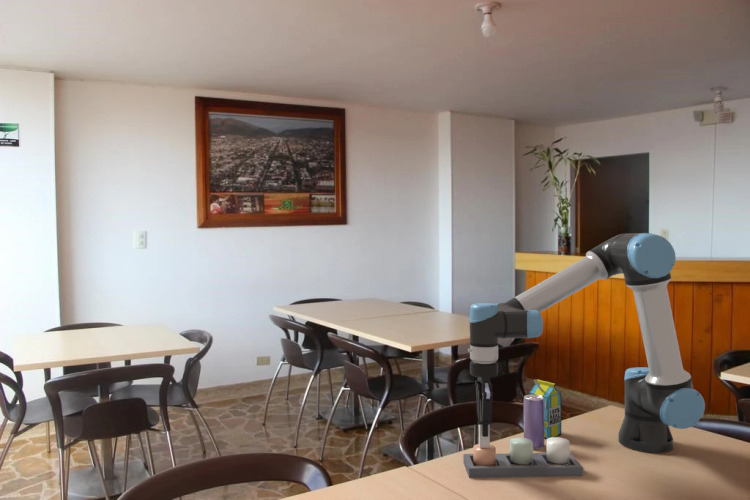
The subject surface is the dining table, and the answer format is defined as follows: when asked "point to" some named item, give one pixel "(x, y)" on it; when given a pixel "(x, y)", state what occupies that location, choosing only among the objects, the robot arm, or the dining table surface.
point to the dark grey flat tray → (523, 467)
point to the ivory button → (558, 450)
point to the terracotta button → (484, 456)
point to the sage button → (521, 450)
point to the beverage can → (534, 420)
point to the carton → (549, 407)
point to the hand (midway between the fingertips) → (484, 446)
